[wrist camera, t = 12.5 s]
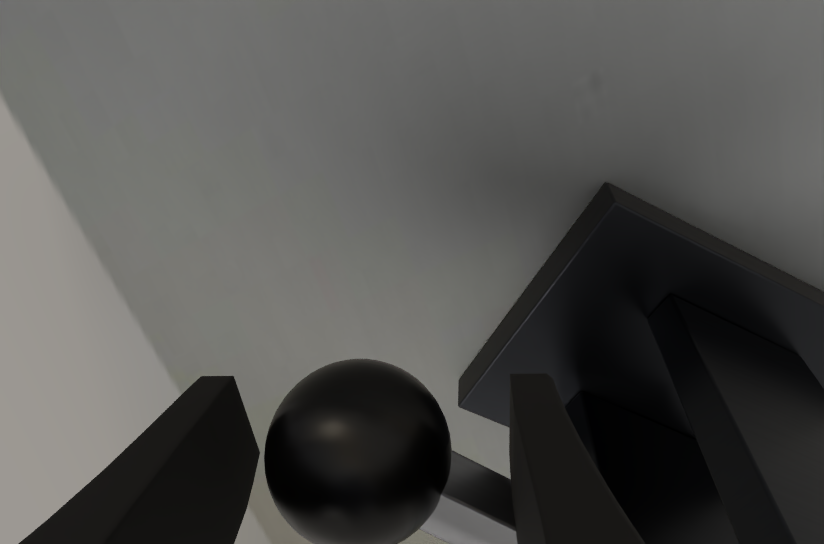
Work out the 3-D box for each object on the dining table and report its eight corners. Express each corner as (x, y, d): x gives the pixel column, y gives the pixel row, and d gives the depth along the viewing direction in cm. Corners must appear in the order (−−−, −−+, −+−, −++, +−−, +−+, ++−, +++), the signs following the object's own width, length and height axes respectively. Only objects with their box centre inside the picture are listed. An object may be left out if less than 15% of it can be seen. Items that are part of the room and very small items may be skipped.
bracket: (457, 379, 19) (449, 779, 11) (605, 180, 15) (789, 575, 6) (705, 482, 21) (869, 895, 12) (899, 329, 17) (1350, 795, 8)
